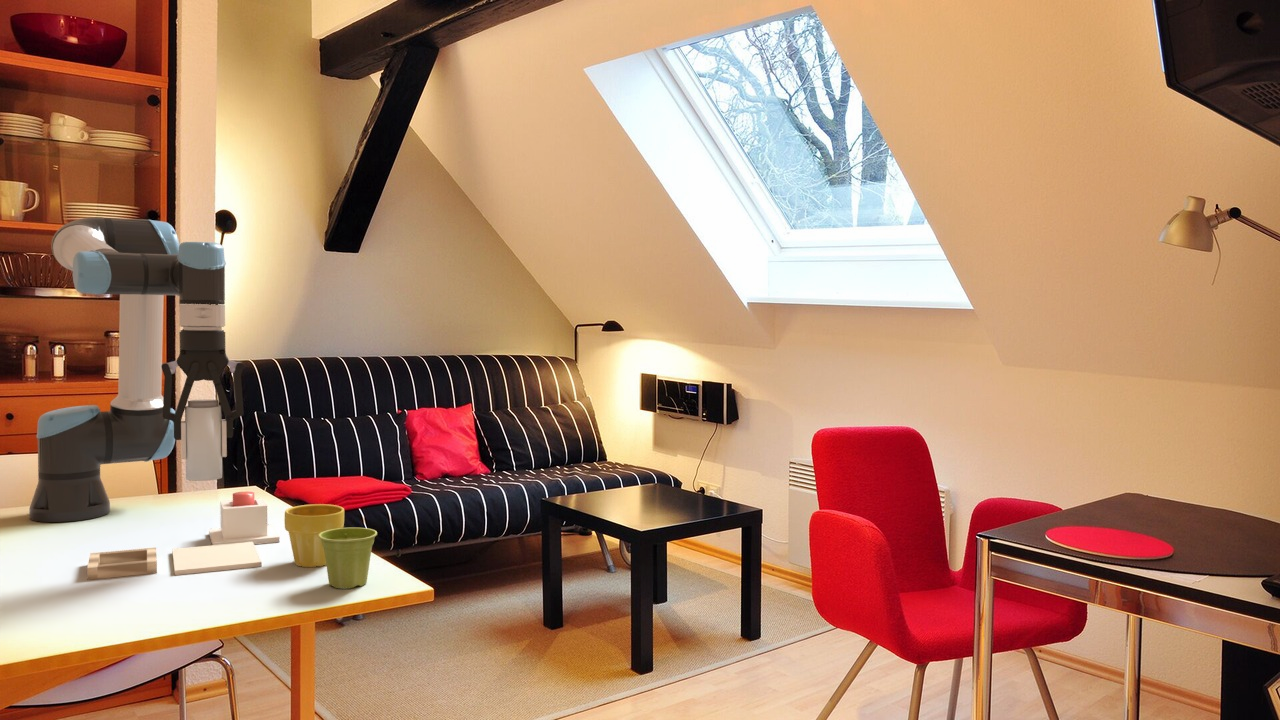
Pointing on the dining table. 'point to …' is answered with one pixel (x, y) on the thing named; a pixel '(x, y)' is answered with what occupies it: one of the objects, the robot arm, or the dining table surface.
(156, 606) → the dining table surface
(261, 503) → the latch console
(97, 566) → the socket
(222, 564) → the sand mat
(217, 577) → the dining table surface
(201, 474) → the filter cartridge
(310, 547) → the plant pot
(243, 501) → the latch button
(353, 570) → the plant pot
